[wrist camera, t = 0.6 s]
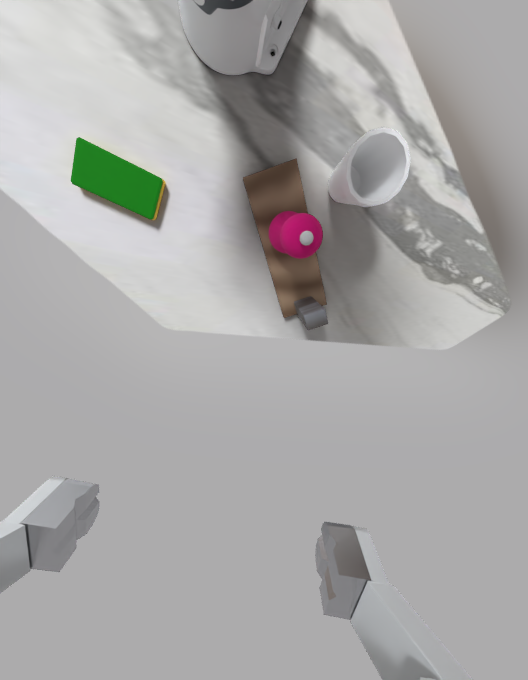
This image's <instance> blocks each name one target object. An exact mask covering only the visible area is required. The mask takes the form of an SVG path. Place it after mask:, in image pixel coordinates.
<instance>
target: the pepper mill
mask: <svg viewBox="0 0 528 680" xmlns="http://www.w3.org/2000/svg"><path fill="white" fill-rule="evenodd" d="M322 238H323V231H322V227H321V225H320V223H319V221H318V220H317V219H316V218H315V217H314V216H312V215H310V214H307V213H296V212H293V211H284V212H281V213H279V214H278V215H277V216H276V217H275V218H274V219H273V220H272V222H271V224H270V227H269V240H270V242H271V244H272V246H273V247H274V248H275V249H276V250H277V251H279V252H282V253H286V254H288V255H290V256H291V257H293V258H298V259H303V258H307V257H309V256H311V255H313V254H314V253H315V252H316V251H317V250H318V249H319V247H320V245H321V242H322Z"/></svg>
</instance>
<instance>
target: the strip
mask: <svg viewBox="0 0 528 680" xmlns="http://www.w3.org/2000/svg"><path fill="white" fill-rule="evenodd" d="M243 181H244V185H245V188H246V191H247V195H248V198H249V202H250V205H251V208H252V212H253V215H254V219H255V222H256V225H257V229H258V232H259V236H260V239H261V242H262V246H263V249H264V253H265V256H266V259H267V263H268V266H269V270H270V273H271V276H272V280H273V283H274V287H275V290H276V293H277V297H278V300H279V303H280V307H281V310H282V314H283V317H284V318H286V317H289V316H292V315H295V314H297V315H298V316H299V318H300V319H301V321H302V322H303V324H304V325H305V327H306V328H307V330H310V329H313V328H317V327H320V326H323V325H326V324H328V320H327V316H326V311H325V309H324V308H323V307H322V306H323V305H326V304H327V303H326V298H325V293H324V288H323V284H322V279H321V274H320V269H319V265H318V260H317V255H316V252H315V253H314V254H313V255H311V256H309V257H307V258H303V259H298V258H293V257H291V256H290V255H288V254H286V253H282V252H279V251H277V250H276V249H275V248H274V247H273V246H272V244H271V242H270V240H269V227H270V224H271V222H272V220H273V219H274V218H275V217H276V216H277V215H278V214H279V213H281V212H284V211H293V212H296V213H307V214H308V212H307V207H306V202H305V197H304V193H303V188H302V183H301V178H300V173H299V169H298V164H297V159H294V160H291V161H288V162H285V163H283V164H280V165H277V166H274V167H271V168H269V169H266V170H263V171H260V172H257V173H255V174H252V175H249V176H246V177H243Z"/></svg>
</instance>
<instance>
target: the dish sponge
mask: <svg viewBox="0 0 528 680" xmlns="http://www.w3.org/2000/svg"><path fill="white" fill-rule="evenodd" d="M71 182H72V184H74V185H76V186H78V187H81V188H83V189H85V190H87V191H89V192H91V193H94V194H96V195H98V196H100V197H102V198H105V199H107V200H109V201H111V202H113V203H116V204H118V205H120V206H122V207H124V208H126V209H129V210H131V211H133V212H135V213H137V214H140V215H142V216H144V217H146V218H148V219H151V220H155V219H156V218H157V214H158V211H159V207H160V203H161V199H162V195H163V191H164V188H165V184H166V183H165V181H164V180H163V179H161V178H159V177H157V176H155V175H153V174H151V173H150V172H148V171H146V170H144V169H142V168H140V167H138V166H136V165H134V164H132V163H130V162H128V161H126V160H124V159H122V158H120V157H118V156H116V155H114V154H112V153H110V152H108V151H106V150H104V149H102V148H100V147H98V146H96V145H94V144H92V143H90V142H88V141H86V140H84V139H82V138H80V137H79V138H77V140H76V147H75V154H74V161H73V169H72V176H71Z"/></svg>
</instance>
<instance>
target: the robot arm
mask: <svg viewBox="0 0 528 680" xmlns="http://www.w3.org/2000/svg"><path fill="white" fill-rule="evenodd" d="M307 1H308V0H179V11H180V17H181V21H182V25H183V28H184V31H185V34H186V36H187V39H188V41H189V43H190V45H191V46H192V48H193V50H194V51H195V53H196V54H197V55H198V56H199V58H200V59H201V60H202V61H203V62H204V63H205V64H206V65H208V66H209V67H210V68H212V69H213V70H215V71H217V72H219V73H222V74H226V75H240V74H244V73H248V72H257V73H261V74H266V75H269V74H272V73H273V72H274V71H275V69H276V67H277V65H278V63H279V61H280V58H281V56H282V54H283V52H284V50H285V48H286V46H287V44H288V41H289V39H290V37H291V35H292V33H293V31H294V29H295V27H296V24H297V22H298V20H299V18H300V16H301V14H302V12H303V10H304V7H305V5H306V3H307ZM271 52H274V53H275V56H271V54H270V53H271ZM98 493H99V485H98V484H93V483H88V482H83V481H78V480H73V479H68V478H63V477H57V476H54V477H51V478H50V479H48V480H47V481H46V482H45V483H43V484H42V485H41V486H40V487H39V488H38V489H37V490H36V491H35V492H34V493H33V494H32V495H30V496H29V497H28V498H27V499H26V500H25V501H24V502H23V503H22V504H21V505H19V506H18V508H16V509H15V510H14V511H13V512H12V513H11V514H10V515H9V516H8V517H6V518H5V519H4V521H0V593H1V592H3V591H4V590H5V589H7V588H8V587H9V586H11V585H12V584H13V583H15V582H16V581H17V580H19V579H20V578H21V577H23V576H24V575H25V574H27V573H28V572H29V571H30V569H37V570H45V571H54V572H60V570H61V569H62V568H63V566H64V565H65V563H66V562H67V561H68V559H69V558H70V556H71V555H72V553H73V552H74V551H75V549H76V542H77V540H78V539H79V538H81V537H82V536H84V535H85V534H87V532H88V531H89V529H90V528H91V526H92V525H93V523H94V521H95V519H96V517H97V514H98V511H99V501H98V499H97V498H96V495H97V494H98ZM321 531H322V536H321V537H319V538H318V541H317V544H316V566H317V572H318V573H319V575H320V576H321V578H322V583H321V586H320V593H321V599H322V605H323V611H324V615H329V616H334V617H339V618H344V619H349V620H351V621H350V622H351V624H352V626H353V628H354V629H355V631H356V633H357V635H358V637H359V638H360V640H361V642H362V644H363V646H364V647H365V649H366V651H367V653H368V655H369V656H370V658H371V660H372V662H373V664H374V665H375V667H376V669H377V671H378V672H379V674H380V676H381V678H382V679H383V680H473V679H472V678H471V677H470V675H469V674H468V673H467V672H466V671H465V670H464V668H463V667H462V666H461V665H460V664H459V662H458V661H457V660H456V659H455V658H454V656H452V654H451V653H450V652H449V651H448V649H447V648H446V647H445V646H444V645H443V643H442V642H441V641H440V640H439V639H438V637H437V636H436V635H435V634H434V633H433V631H432V630H431V629H430V628H429V627H428V626H427V624H426V623H425V622H424V621H423V620H422V618H421V617H420V616H419V615H418V614H417V612H416V611H415V610H414V609H413V608H412V607H411V605H410V604H409V603H408V602H407V601H406V599H405V598H404V597H403V596H402V595H401V593H399V591H398V590H397V589H396V588H395V586H394V585H391V584H389V583H388V580H387V578H386V575H385V573H384V570H383V567H382V565H381V562H380V559H379V557H378V554H377V552H376V549H375V547H374V544H373V541H372V538H371V536H370V533H369V531H368V530H367V529H366V528H360V527H354V526H350V525H344V524H337V523H330V522H324V523H323V525H322V528H321Z"/></svg>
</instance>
